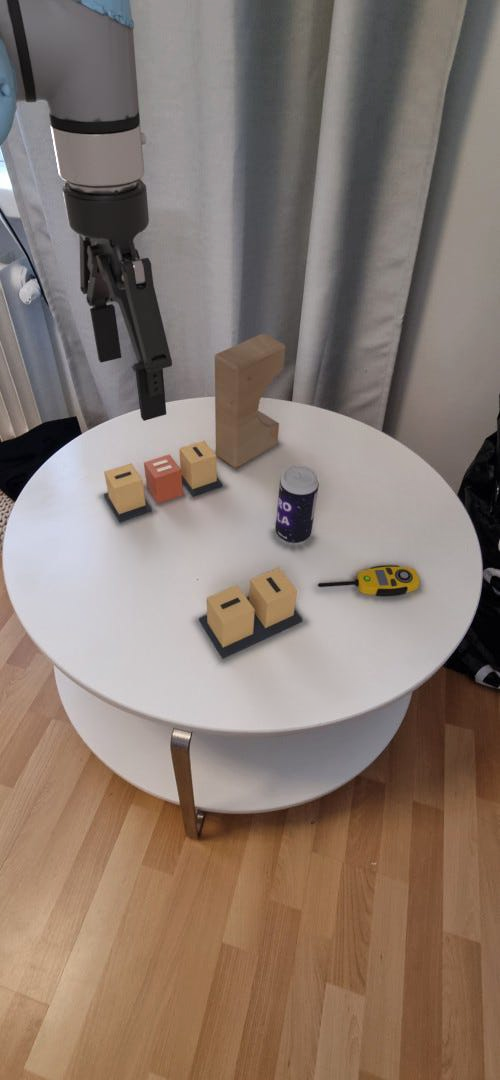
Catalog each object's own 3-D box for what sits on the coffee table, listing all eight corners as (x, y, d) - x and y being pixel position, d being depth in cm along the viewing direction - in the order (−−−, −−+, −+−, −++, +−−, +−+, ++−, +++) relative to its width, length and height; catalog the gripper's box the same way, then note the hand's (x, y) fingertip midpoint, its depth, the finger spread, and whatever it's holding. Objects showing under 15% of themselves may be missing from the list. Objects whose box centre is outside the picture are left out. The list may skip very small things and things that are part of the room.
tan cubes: (119, 522, 93) (113, 493, 89) (104, 496, 97) (98, 467, 93) (222, 487, 100) (222, 458, 95) (204, 463, 104) (203, 435, 99)
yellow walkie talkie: (424, 586, 84) (321, 593, 82) (421, 595, 85) (320, 601, 84) (414, 561, 87) (315, 567, 86) (411, 569, 88) (313, 576, 87)
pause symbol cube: (157, 503, 96) (154, 478, 92) (146, 487, 99) (143, 461, 95) (183, 495, 98) (181, 469, 94) (171, 479, 101) (169, 453, 97)
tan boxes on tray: (222, 659, 77) (222, 632, 72) (198, 620, 81) (197, 592, 76) (302, 622, 81) (306, 594, 77) (276, 587, 85) (279, 559, 81)
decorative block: (258, 430, 111) (263, 331, 97) (279, 444, 108) (287, 344, 94) (213, 454, 106) (212, 353, 91) (234, 470, 103) (236, 368, 88)
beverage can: (285, 516, 95) (291, 458, 87) (316, 529, 94) (326, 471, 85) (268, 537, 92) (273, 479, 83) (300, 552, 90) (309, 494, 81)
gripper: (202, 218, 47) (207, 434, 63) (96, 142, 62) (122, 332, 77) (113, 233, 44) (141, 454, 60) (25, 149, 59) (66, 344, 74)
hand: (130, 386), depth 69 cm, fingers open, 13 cm apart
